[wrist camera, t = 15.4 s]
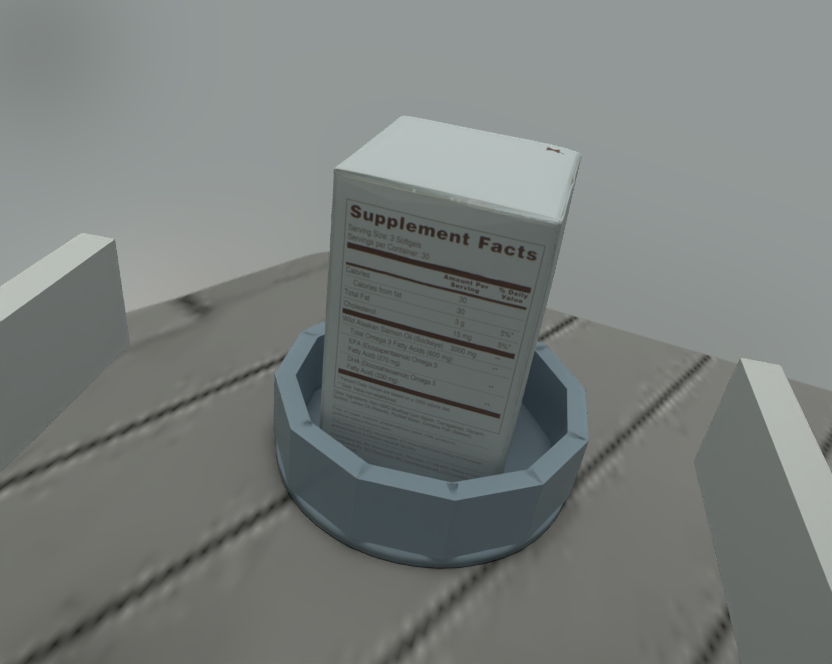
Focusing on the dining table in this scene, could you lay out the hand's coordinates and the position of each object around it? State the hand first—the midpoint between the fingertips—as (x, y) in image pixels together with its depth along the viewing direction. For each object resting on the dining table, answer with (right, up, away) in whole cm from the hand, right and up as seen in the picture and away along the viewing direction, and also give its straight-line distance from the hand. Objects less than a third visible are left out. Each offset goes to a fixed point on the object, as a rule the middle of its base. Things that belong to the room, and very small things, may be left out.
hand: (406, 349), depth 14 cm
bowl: (+1, -5, +16) cm, 16 cm away
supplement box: (0, -4, +15) cm, 16 cm away
